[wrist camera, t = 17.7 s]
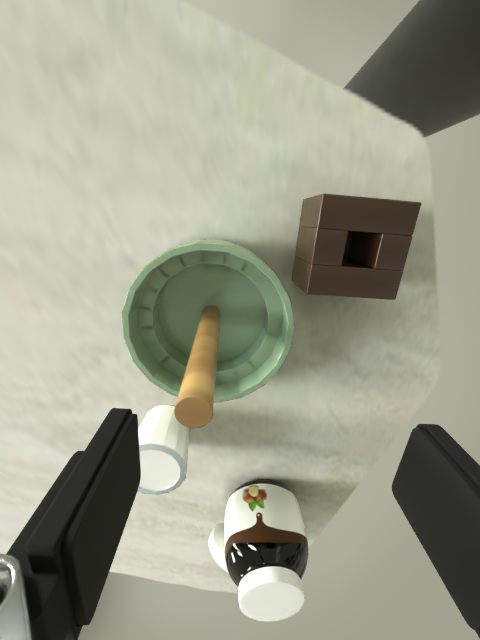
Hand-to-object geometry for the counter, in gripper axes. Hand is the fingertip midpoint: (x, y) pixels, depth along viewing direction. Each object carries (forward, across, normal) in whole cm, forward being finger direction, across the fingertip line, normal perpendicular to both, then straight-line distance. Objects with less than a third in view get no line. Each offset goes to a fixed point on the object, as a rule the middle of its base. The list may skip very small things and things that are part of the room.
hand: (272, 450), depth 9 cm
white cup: (+21, +8, +18) cm, 29 cm away
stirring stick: (+21, +4, +3) cm, 21 cm away
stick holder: (+22, -8, -6) cm, 24 cm away
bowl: (+21, +3, +3) cm, 22 cm away
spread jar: (+21, -4, +32) cm, 38 cm away
